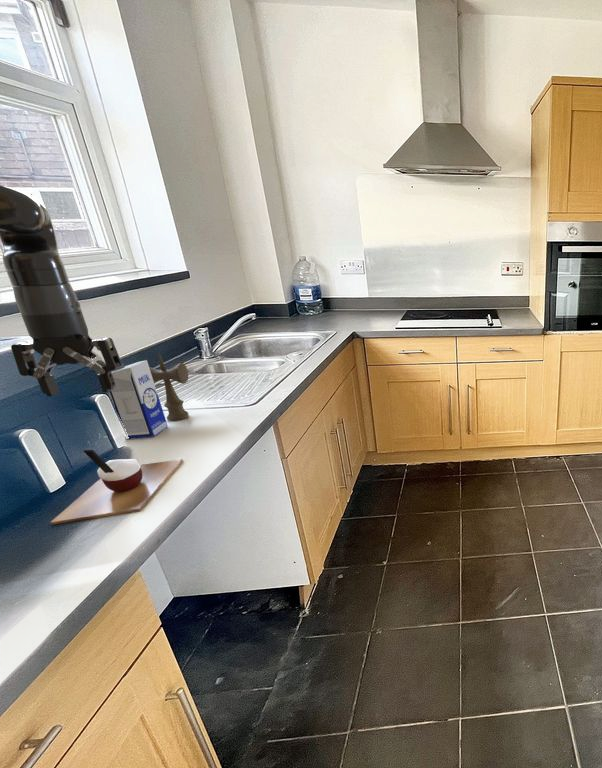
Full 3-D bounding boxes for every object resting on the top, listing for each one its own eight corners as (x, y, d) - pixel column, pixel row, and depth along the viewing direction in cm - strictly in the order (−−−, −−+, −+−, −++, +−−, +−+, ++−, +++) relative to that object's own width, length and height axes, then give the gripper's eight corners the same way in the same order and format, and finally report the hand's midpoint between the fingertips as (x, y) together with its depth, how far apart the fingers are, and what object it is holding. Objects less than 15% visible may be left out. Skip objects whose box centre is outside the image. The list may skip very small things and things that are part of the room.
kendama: (193, 420, 122) (174, 354, 115) (154, 424, 120) (132, 357, 113) (200, 412, 128) (183, 349, 121) (163, 416, 125) (143, 352, 118)
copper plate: (51, 524, 78) (50, 522, 78) (112, 470, 96) (111, 468, 96) (140, 511, 82) (139, 508, 82) (183, 461, 100) (182, 459, 100)
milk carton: (153, 437, 112) (129, 366, 105) (124, 439, 110) (98, 368, 104) (168, 426, 118) (147, 359, 111) (141, 428, 117) (118, 360, 110)
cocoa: (137, 474, 93) (120, 426, 89) (158, 478, 92) (142, 429, 88) (87, 499, 85) (65, 447, 80) (110, 504, 83) (89, 451, 79)
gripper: (-19, 314, 70) (19, 404, 75) (87, 311, 74) (116, 396, 79) (16, 307, 76) (48, 390, 82) (111, 304, 80) (136, 383, 86)
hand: (81, 392), depth 80 cm, fingers open, 8 cm apart
